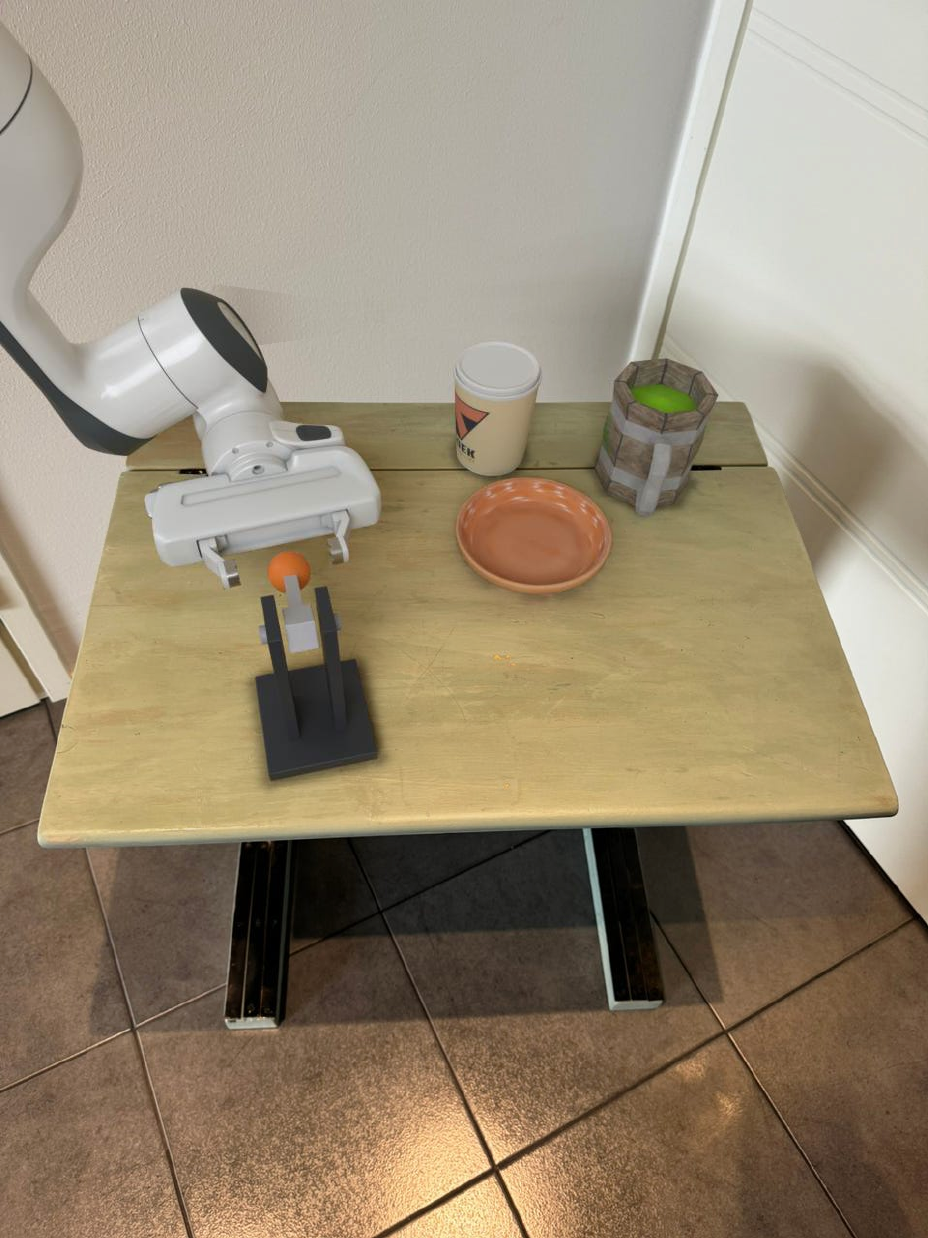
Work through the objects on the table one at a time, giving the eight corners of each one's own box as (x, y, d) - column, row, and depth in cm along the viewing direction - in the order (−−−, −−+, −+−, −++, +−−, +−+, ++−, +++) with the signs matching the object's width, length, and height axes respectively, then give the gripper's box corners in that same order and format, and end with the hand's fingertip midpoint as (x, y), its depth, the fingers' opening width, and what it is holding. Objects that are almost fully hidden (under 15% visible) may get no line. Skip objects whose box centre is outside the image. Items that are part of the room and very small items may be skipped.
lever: (270, 585, 73) (263, 548, 71) (311, 578, 74) (305, 541, 72) (281, 662, 62) (273, 620, 60) (329, 653, 63) (323, 611, 61)
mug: (596, 439, 99) (616, 351, 90) (687, 452, 99) (717, 364, 89) (588, 531, 89) (609, 442, 80) (689, 546, 89) (722, 459, 79)
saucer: (434, 583, 83) (435, 562, 81) (478, 482, 93) (480, 461, 91) (590, 624, 81) (595, 604, 79) (619, 516, 91) (624, 496, 89)
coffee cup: (439, 435, 98) (442, 345, 89) (513, 423, 100) (524, 334, 91) (463, 487, 93) (470, 397, 83) (541, 473, 95) (556, 384, 85)
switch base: (256, 684, 75) (229, 573, 63) (355, 665, 77) (346, 555, 65) (270, 781, 69) (242, 679, 57) (377, 759, 71) (371, 655, 59)
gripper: (133, 462, 74) (153, 572, 66) (355, 422, 80) (399, 519, 72) (149, 514, 79) (170, 622, 71) (358, 473, 84) (399, 569, 76)
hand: (287, 570), depth 71 cm, fingers open, 8 cm apart
